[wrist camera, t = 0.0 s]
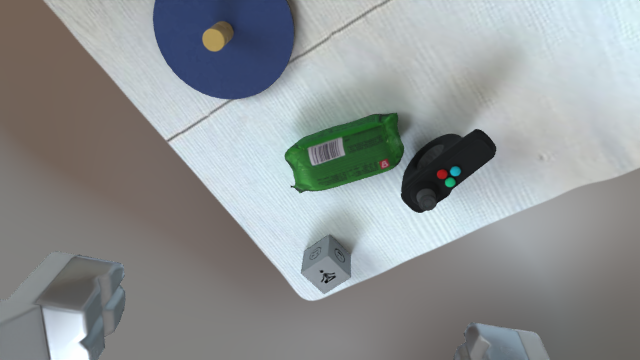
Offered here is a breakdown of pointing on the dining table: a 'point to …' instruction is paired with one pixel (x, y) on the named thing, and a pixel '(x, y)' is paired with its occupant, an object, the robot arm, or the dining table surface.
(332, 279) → the dice cube
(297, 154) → the snack package
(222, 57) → the tin lid
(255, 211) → the dining table surface
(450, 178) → the controller
